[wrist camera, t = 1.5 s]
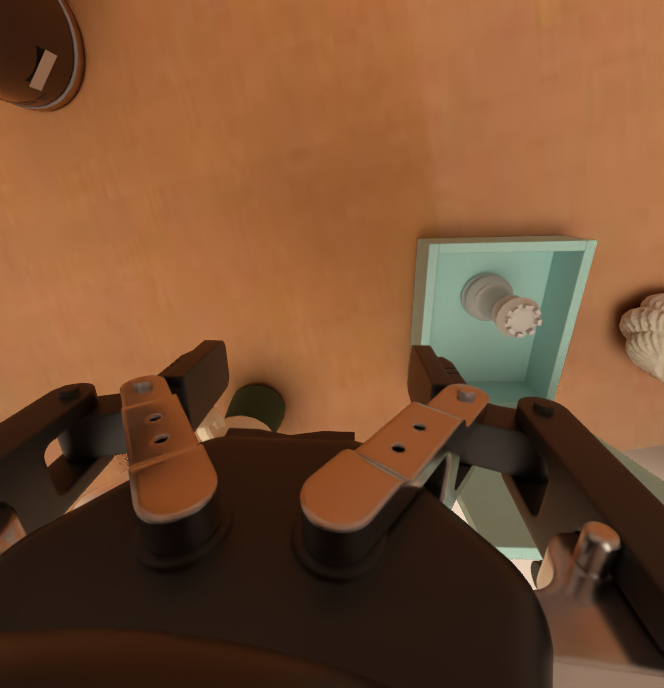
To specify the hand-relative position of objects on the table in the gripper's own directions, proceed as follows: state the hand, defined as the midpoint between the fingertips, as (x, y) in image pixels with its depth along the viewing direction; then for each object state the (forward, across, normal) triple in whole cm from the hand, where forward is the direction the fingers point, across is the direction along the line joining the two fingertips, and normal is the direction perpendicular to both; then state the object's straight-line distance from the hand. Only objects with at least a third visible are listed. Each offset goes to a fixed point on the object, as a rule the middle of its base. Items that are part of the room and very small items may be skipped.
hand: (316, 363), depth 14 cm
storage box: (+20, -14, +4) cm, 25 cm away
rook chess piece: (+19, -14, +1) cm, 24 cm away
